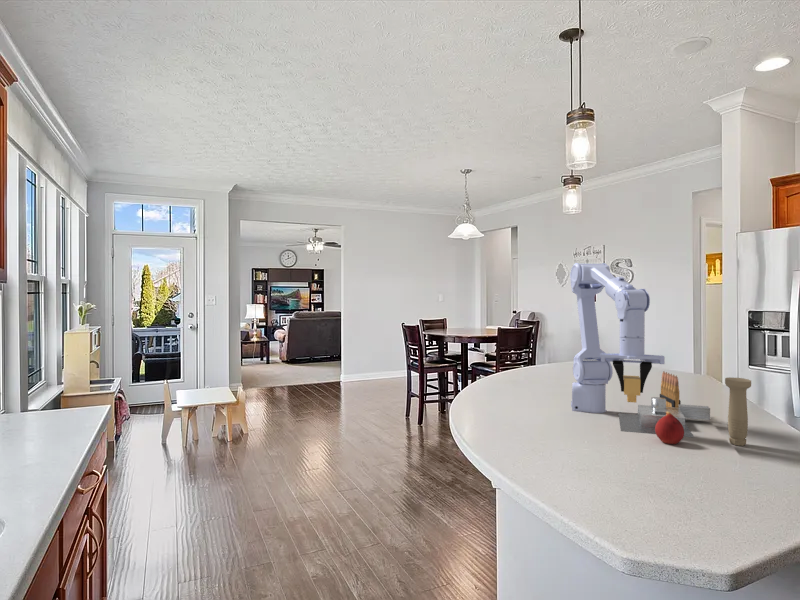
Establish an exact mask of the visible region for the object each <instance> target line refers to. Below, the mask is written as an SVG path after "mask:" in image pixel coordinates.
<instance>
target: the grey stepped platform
mask: <svg viewBox="0 0 800 600" xmlns="http://www.w3.org/2000/svg"><path fill="white" fill-rule="evenodd" d="M650 403H651V405H645V404H644V405H643V404H637V414H634V413H633V414H632V413H631V414H630V413H620V412H619V413H617V414H618V419H619V427H620V432H626V433H636V434H637V433H638V434H639V433H640V434H650V435H656V432H655V426H656V424H657V422H658V421H659V420H660V419H661V418H662V417H664V416H666V412H670V413H671V414H672V415H673V416H674V417H675V418H677V419H678V420H679V421H680V423H681V424H682V426H683V428H684V437H683V438H686V437H687V438H695V436H694V434H693V433H692V431H691V430H690V429H689V427H688V425H687V424H686V419H694V420H704V421H705V420H707V421H708V420H709V421H711V408H710V407H709V406H708V405H698V404H697V405H694V404H682V403H681V404H679V407H678V408H677V407H666V399H665V398H661V397H660V396H652V397H651V399H650Z"/></svg>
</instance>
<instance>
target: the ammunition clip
mask: <svg viewBox="0 0 800 600" xmlns="http://www.w3.org/2000/svg"><path fill="white" fill-rule="evenodd" d="M679 385H680V384H679V378H678V375H675V374H672V373H670V372H667V371H666V372H665V370H664V371H662V374H661V383H660V393H659V397H661V398H665V399H666V407H677V408H678V407H679V404H682V402H681V399H680V386H679Z"/></svg>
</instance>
